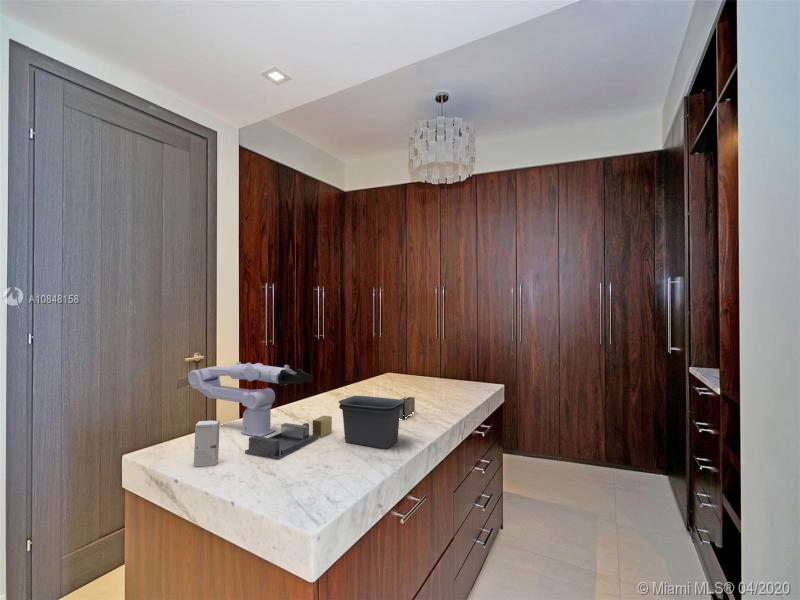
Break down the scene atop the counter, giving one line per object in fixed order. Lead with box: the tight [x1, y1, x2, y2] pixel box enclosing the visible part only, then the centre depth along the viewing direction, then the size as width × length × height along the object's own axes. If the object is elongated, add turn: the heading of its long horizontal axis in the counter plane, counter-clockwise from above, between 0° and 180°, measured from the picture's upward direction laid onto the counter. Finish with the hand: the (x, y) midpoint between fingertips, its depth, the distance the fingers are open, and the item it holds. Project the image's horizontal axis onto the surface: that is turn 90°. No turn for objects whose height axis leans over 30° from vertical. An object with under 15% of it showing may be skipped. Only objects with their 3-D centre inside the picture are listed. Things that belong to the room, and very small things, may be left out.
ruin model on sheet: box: [399, 396, 416, 420], centre depth 171 cm, size 11×3×10 cm, turn 151°
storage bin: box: [337, 395, 404, 449], centre depth 139 cm, size 21×16×14 cm
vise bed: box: [244, 431, 319, 461], centre depth 134 cm, size 13×21×5 cm, turn 157°
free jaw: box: [280, 422, 310, 440], centre depth 142 cm, size 10×8×4 cm
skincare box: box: [193, 419, 221, 467], centre depth 119 cm, size 6×4×12 cm
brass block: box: [312, 415, 333, 439], centre depth 146 cm, size 4×7×6 cm, turn 157°
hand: (306, 379), depth 141 cm, fingers open, 7 cm apart
